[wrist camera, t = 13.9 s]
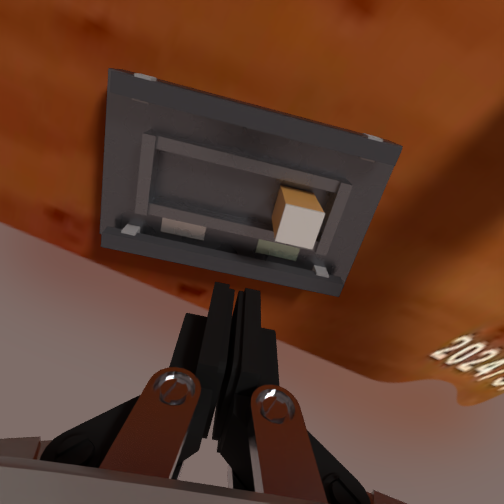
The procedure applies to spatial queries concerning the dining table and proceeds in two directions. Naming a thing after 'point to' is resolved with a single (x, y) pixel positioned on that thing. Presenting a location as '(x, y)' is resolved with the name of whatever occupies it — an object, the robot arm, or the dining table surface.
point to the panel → (231, 183)
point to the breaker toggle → (296, 217)
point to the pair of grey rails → (256, 119)
